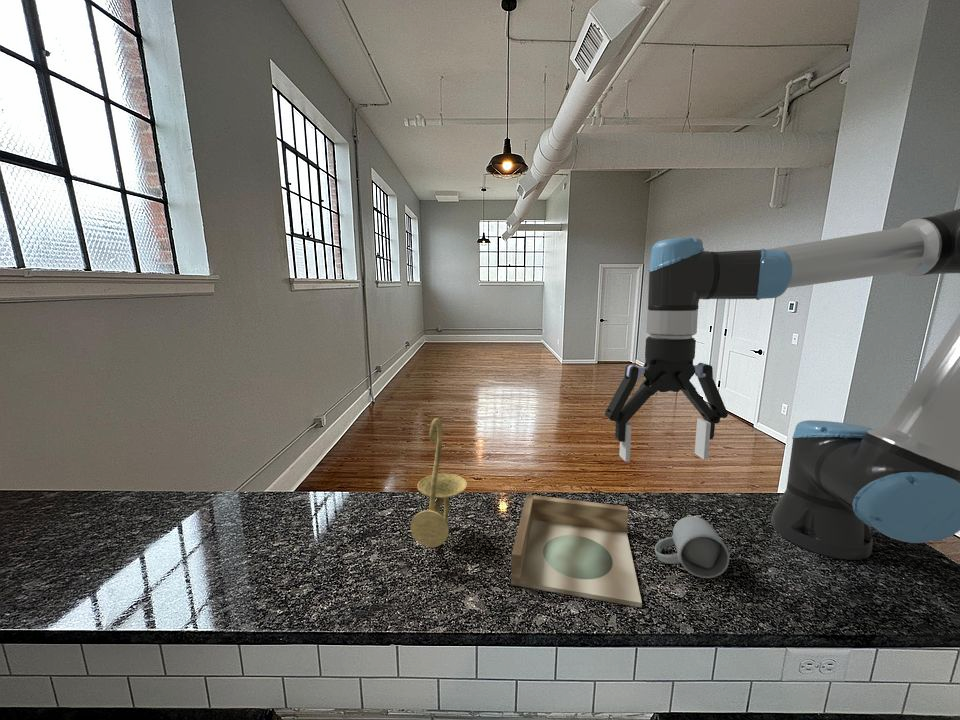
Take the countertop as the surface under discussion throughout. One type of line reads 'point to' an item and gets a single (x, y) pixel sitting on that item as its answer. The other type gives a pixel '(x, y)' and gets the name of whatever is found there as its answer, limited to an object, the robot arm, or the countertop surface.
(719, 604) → the countertop surface
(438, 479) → the wall sconce
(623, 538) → the tray
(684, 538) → the ceramic mug
